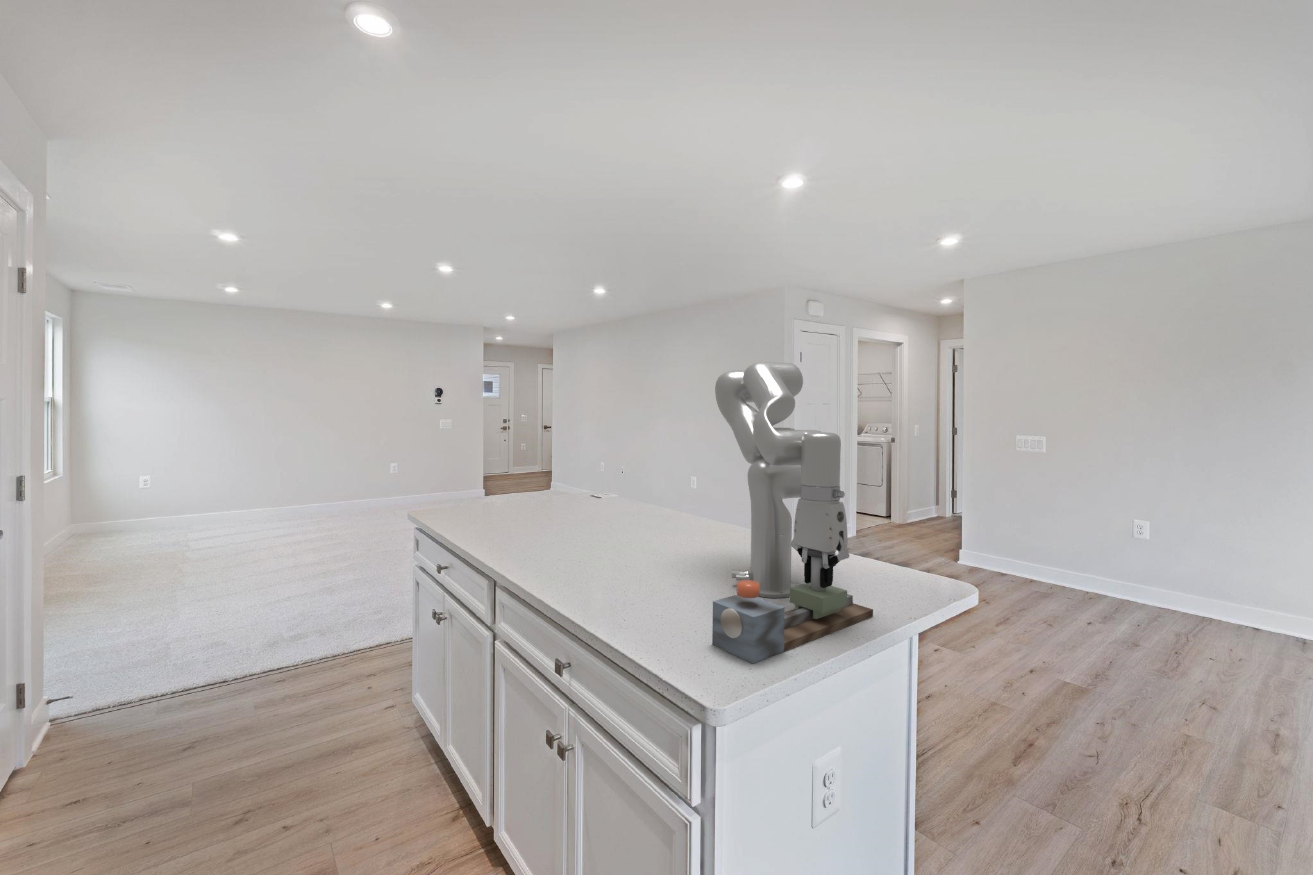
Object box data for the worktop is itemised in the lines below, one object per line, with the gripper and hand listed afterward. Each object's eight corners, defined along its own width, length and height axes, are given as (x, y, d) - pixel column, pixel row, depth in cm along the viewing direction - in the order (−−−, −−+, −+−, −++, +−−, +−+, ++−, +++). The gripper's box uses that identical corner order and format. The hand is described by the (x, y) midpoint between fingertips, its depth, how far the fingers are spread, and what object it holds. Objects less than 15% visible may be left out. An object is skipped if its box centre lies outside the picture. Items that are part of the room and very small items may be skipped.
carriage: (822, 621, 110) (823, 556, 109) (789, 609, 116) (790, 548, 115) (846, 612, 115) (848, 550, 114) (813, 601, 121) (814, 542, 120)
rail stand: (751, 664, 96) (752, 617, 96) (710, 644, 104) (711, 601, 104) (872, 616, 119) (873, 578, 118) (831, 603, 127) (832, 567, 126)
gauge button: (748, 599, 99) (748, 588, 99) (732, 593, 103) (732, 582, 102) (764, 595, 102) (764, 584, 102) (747, 589, 105) (747, 578, 105)
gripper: (867, 497, 110) (865, 590, 111) (798, 487, 123) (796, 571, 124) (845, 501, 105) (843, 598, 106) (775, 490, 118) (774, 578, 119)
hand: (818, 583), depth 115 cm, fingers closed on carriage, 3 cm apart
